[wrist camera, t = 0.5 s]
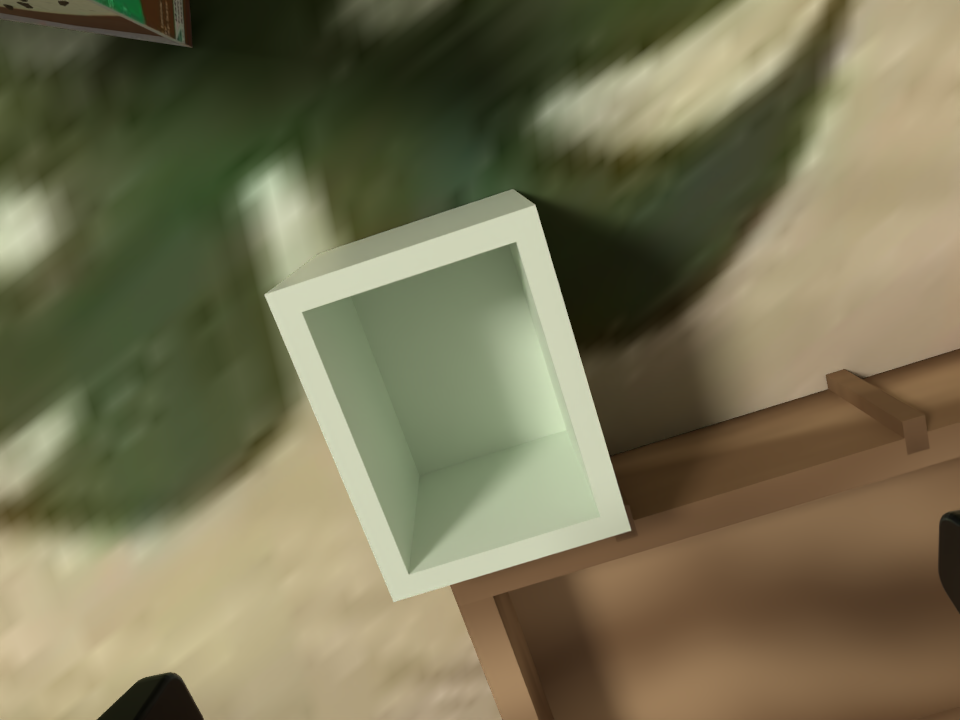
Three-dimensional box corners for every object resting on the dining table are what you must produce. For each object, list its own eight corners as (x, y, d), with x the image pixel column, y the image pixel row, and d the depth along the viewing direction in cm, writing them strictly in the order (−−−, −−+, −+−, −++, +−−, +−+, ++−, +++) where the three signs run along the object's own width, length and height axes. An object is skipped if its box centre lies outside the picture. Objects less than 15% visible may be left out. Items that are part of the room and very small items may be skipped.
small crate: (586, 433, 23) (631, 530, 17) (409, 488, 23) (393, 602, 17) (513, 188, 20) (535, 205, 15) (317, 253, 21) (264, 294, 15)
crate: (1034, 687, 26) (1133, 779, 22) (565, 817, 27) (583, 927, 23) (993, 323, 22) (1105, 360, 18) (443, 493, 23) (440, 561, 19)
